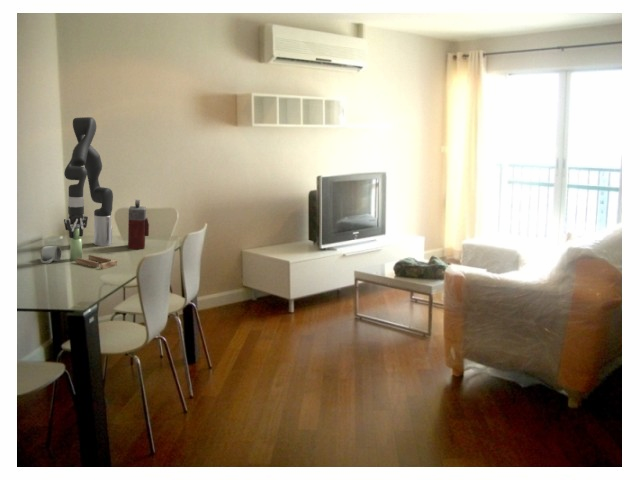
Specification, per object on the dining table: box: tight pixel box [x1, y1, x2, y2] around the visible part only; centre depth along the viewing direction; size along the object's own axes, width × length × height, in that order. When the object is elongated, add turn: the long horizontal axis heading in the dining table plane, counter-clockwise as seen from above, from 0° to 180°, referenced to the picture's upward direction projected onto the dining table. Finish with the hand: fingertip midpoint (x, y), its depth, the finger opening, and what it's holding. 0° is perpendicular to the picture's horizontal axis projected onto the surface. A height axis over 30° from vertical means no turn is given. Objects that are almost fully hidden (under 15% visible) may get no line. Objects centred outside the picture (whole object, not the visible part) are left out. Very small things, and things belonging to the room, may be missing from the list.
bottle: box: [69, 225, 83, 262], centre depth 314 cm, size 6×6×18 cm
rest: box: [75, 254, 118, 270], centre depth 310 cm, size 10×18×2 cm, turn 65°
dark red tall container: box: [127, 199, 150, 250], centre depth 348 cm, size 9×11×28 cm
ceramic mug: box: [40, 245, 63, 264], centre depth 308 cm, size 11×8×8 cm
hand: (76, 237), depth 313 cm, fingers open, 5 cm apart
